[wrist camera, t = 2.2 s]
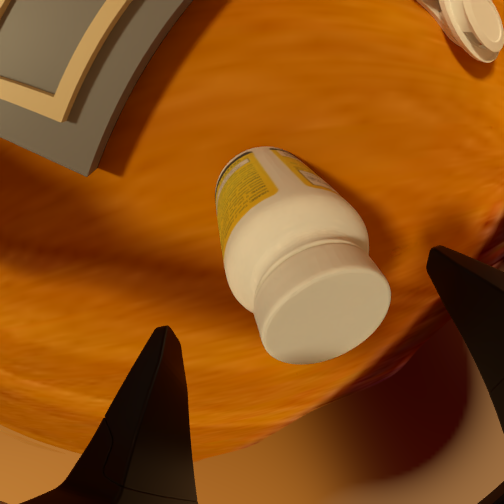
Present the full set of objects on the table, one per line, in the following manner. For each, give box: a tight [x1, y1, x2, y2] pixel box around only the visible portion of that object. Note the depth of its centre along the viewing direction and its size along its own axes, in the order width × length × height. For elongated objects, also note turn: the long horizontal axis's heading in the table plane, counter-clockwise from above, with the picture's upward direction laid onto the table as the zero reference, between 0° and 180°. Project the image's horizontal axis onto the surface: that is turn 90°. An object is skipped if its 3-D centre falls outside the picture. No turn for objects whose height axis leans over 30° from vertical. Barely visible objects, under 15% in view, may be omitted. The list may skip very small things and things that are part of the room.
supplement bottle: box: [215, 147, 391, 364], centre depth 11 cm, size 5×5×10 cm
